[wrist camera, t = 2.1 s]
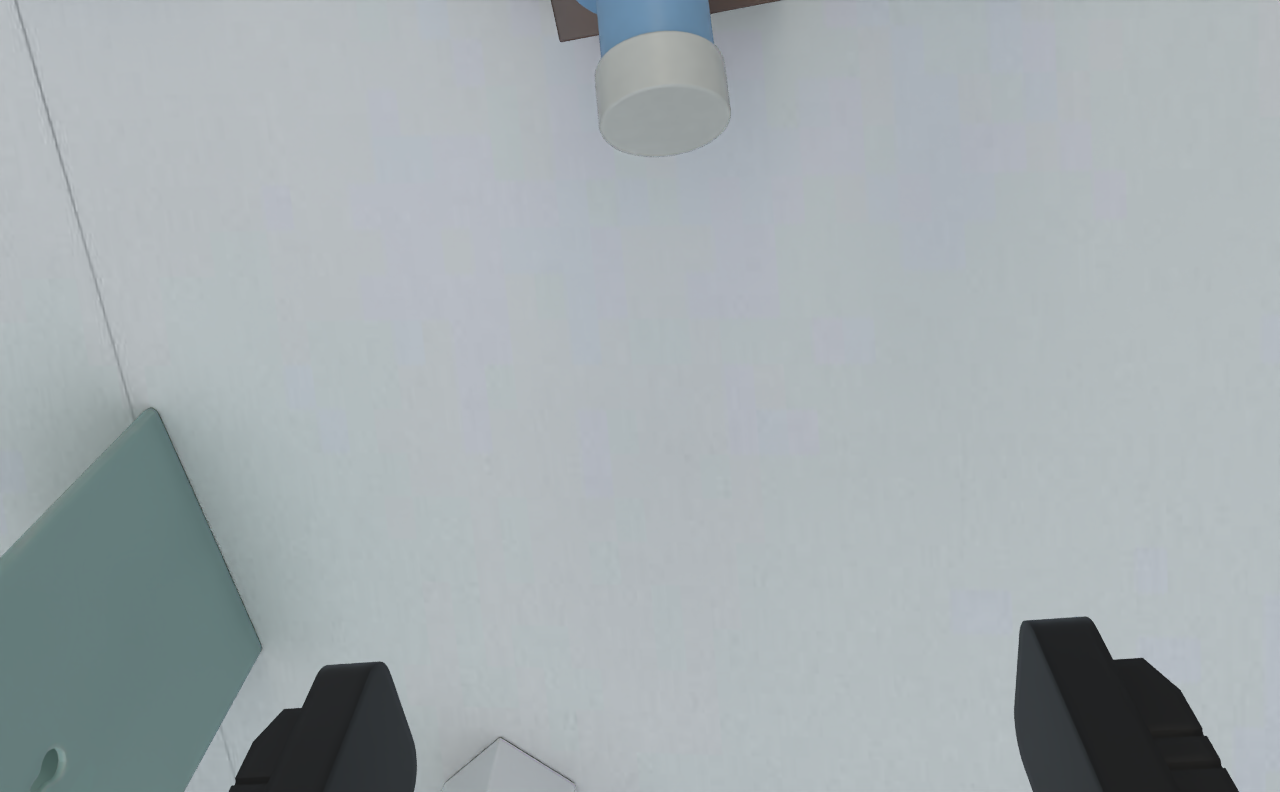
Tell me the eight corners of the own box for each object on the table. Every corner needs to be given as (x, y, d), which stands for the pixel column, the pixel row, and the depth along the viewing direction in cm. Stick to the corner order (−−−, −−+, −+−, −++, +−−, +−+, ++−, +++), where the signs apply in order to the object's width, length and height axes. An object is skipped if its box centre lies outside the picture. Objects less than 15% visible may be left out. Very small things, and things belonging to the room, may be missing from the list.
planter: (11, 421, 50) (-352, 727, 33) (157, 406, 49) (-140, 714, 32) (137, 658, 58) (-103, 1006, 41) (264, 650, 57) (73, 1002, 40)
